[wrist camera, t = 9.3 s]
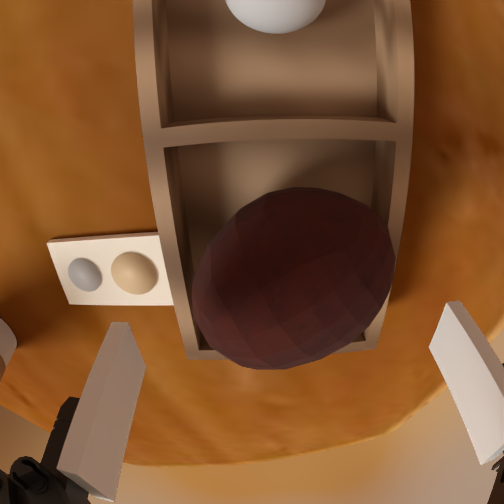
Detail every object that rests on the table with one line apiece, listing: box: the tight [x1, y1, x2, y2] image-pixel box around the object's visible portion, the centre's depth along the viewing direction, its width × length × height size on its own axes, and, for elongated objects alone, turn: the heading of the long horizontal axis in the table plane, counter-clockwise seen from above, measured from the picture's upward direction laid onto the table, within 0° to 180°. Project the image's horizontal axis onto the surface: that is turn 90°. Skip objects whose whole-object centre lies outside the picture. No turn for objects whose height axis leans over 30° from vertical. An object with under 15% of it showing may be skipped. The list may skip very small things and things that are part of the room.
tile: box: [47, 232, 174, 305], centre depth 23 cm, size 6×10×1 cm, turn 93°
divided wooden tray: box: [133, 0, 414, 360], centre depth 17 cm, size 31×14×4 cm, turn 3°
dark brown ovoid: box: [192, 187, 396, 370], centre depth 17 cm, size 9×12×9 cm
